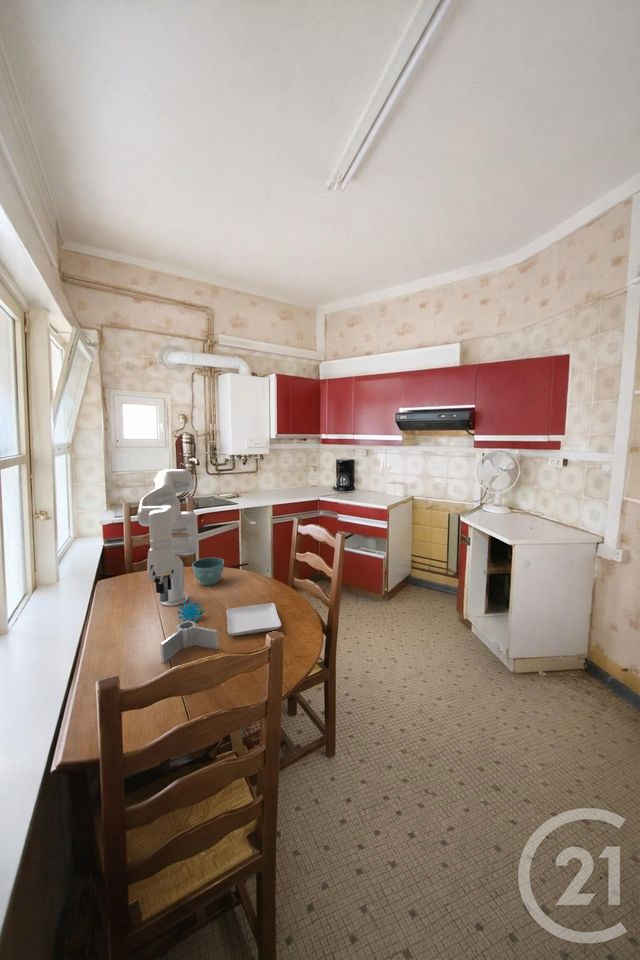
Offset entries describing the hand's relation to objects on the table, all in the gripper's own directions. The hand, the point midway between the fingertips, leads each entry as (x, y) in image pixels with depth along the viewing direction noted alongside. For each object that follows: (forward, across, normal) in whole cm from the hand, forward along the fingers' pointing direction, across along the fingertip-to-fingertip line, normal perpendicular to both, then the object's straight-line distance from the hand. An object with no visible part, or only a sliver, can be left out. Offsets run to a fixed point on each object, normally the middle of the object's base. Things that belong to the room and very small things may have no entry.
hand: (163, 590), depth 141 cm
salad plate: (+22, -25, +23) cm, 40 cm away
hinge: (+21, +2, +12) cm, 24 cm away
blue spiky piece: (+22, -18, -3) cm, 29 cm away
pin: (+4, 0, 0) cm, 4 cm away
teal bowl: (+21, -56, -21) cm, 63 cm away
